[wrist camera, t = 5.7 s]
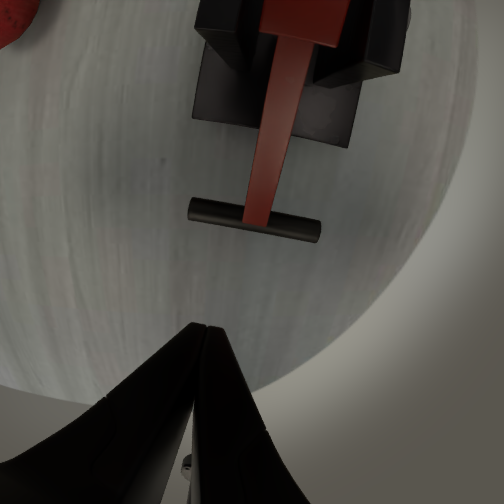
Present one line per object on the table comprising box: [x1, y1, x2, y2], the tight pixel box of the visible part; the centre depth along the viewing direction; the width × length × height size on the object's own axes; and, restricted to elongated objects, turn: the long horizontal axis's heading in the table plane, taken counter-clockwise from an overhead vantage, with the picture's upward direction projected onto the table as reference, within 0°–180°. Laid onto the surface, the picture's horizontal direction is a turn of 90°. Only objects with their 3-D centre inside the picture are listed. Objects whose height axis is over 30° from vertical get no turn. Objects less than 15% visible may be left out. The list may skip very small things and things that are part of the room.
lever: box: [188, 0, 351, 243], centre depth 10 cm, size 12×6×2 cm, turn 170°
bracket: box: [192, 0, 411, 148], centre depth 10 cm, size 10×8×10 cm
